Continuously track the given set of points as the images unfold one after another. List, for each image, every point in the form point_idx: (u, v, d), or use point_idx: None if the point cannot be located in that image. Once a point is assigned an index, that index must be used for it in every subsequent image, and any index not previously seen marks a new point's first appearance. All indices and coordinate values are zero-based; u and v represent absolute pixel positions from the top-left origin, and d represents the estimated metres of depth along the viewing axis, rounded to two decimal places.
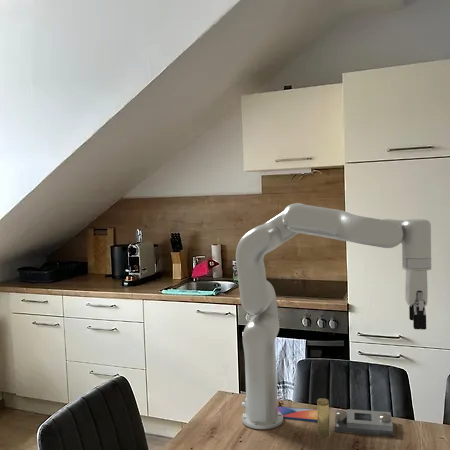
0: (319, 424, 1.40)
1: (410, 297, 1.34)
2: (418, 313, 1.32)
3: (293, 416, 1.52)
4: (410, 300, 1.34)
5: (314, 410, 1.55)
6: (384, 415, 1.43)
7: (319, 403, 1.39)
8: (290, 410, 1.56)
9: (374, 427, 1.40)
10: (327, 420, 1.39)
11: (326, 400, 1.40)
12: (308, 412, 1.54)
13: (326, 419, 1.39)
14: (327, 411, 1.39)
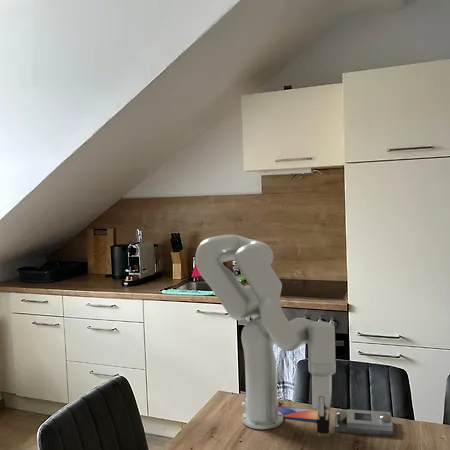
0: None
1: (313, 402, 1.36)
2: (320, 419, 1.37)
3: (293, 416, 1.52)
4: (313, 405, 1.36)
5: (314, 410, 1.55)
6: (384, 415, 1.43)
7: None
8: (290, 410, 1.56)
9: (374, 427, 1.40)
10: None
11: None
12: (308, 412, 1.54)
13: None
14: None
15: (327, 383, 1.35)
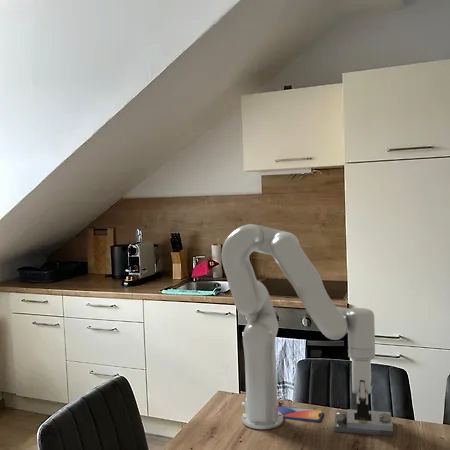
0: None
1: (354, 386, 1.40)
2: (361, 403, 1.40)
3: (292, 416, 1.52)
4: (354, 389, 1.40)
5: (314, 410, 1.55)
6: (384, 415, 1.43)
7: None
8: (290, 410, 1.57)
9: (374, 427, 1.40)
10: None
11: None
12: (308, 412, 1.54)
13: None
14: None
15: (368, 367, 1.39)
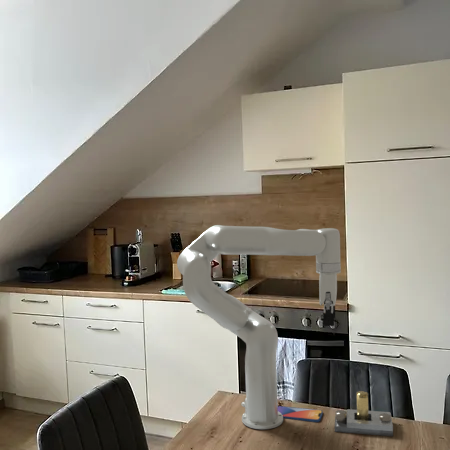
0: (358, 416, 1.44)
1: (320, 297, 1.51)
2: (326, 311, 1.50)
3: (292, 416, 1.52)
4: (320, 300, 1.51)
5: (314, 410, 1.56)
6: (384, 415, 1.43)
7: (359, 396, 1.43)
8: (290, 410, 1.57)
9: (374, 427, 1.40)
10: (367, 412, 1.44)
11: (365, 393, 1.44)
12: (307, 412, 1.54)
13: (366, 411, 1.43)
14: (367, 403, 1.44)
15: (333, 280, 1.50)
